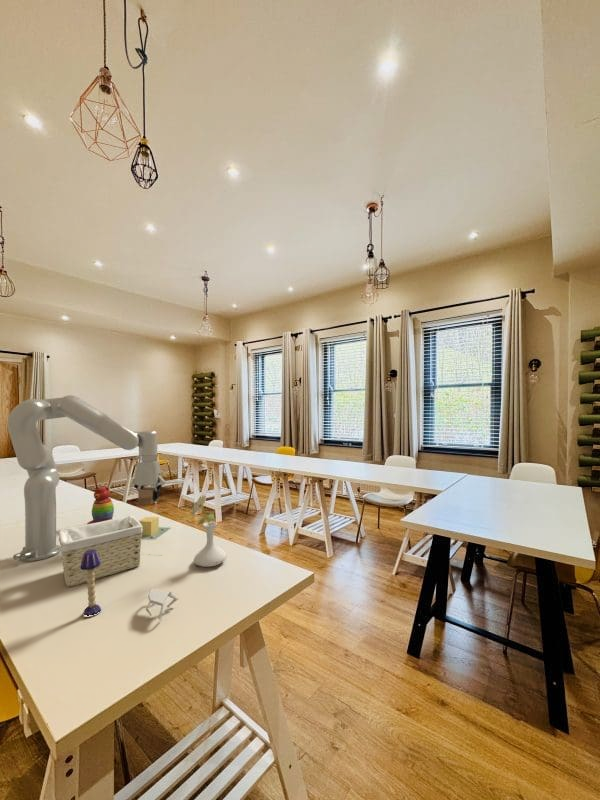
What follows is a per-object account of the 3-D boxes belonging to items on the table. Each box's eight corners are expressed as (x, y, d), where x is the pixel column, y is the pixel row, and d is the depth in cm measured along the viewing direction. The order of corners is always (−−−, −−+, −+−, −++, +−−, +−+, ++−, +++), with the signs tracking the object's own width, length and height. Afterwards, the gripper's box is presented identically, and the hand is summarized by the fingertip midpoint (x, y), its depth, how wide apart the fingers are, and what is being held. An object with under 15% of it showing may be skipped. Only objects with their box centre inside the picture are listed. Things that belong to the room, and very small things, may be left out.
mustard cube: (151, 535, 145) (151, 521, 145) (138, 535, 146) (138, 521, 146) (158, 530, 151) (158, 517, 151) (146, 530, 152) (145, 516, 152)
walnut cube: (151, 503, 146) (151, 490, 146) (138, 503, 146) (138, 489, 146) (158, 500, 152) (158, 486, 152) (146, 499, 152) (146, 486, 152)
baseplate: (154, 542, 141) (154, 538, 141) (123, 541, 142) (123, 537, 142) (171, 529, 155) (171, 527, 155) (142, 529, 156) (142, 526, 156)
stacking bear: (84, 526, 161) (84, 489, 161) (102, 519, 170) (102, 484, 171) (102, 528, 158) (102, 490, 158) (119, 521, 167) (119, 485, 168)
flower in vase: (212, 553, 129) (211, 487, 130) (233, 560, 122) (232, 491, 123) (183, 566, 118) (182, 494, 119) (204, 575, 112) (203, 499, 112)
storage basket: (61, 591, 103) (61, 543, 104) (57, 572, 116) (57, 528, 116) (144, 567, 118) (144, 525, 119) (133, 552, 131) (133, 514, 131)
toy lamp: (78, 620, 89) (78, 556, 89) (82, 610, 93) (82, 549, 94) (99, 615, 91) (99, 552, 91) (102, 606, 95) (102, 546, 96)
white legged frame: (185, 611, 92) (185, 592, 93) (157, 627, 86) (157, 608, 86) (159, 597, 99) (159, 580, 99) (131, 612, 92) (131, 593, 92)
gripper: (124, 460, 147) (125, 501, 146) (162, 460, 145) (162, 502, 144) (135, 457, 154) (135, 497, 154) (170, 457, 152) (171, 497, 152)
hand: (148, 499), depth 149 cm, fingers closed on walnut cube, 6 cm apart
